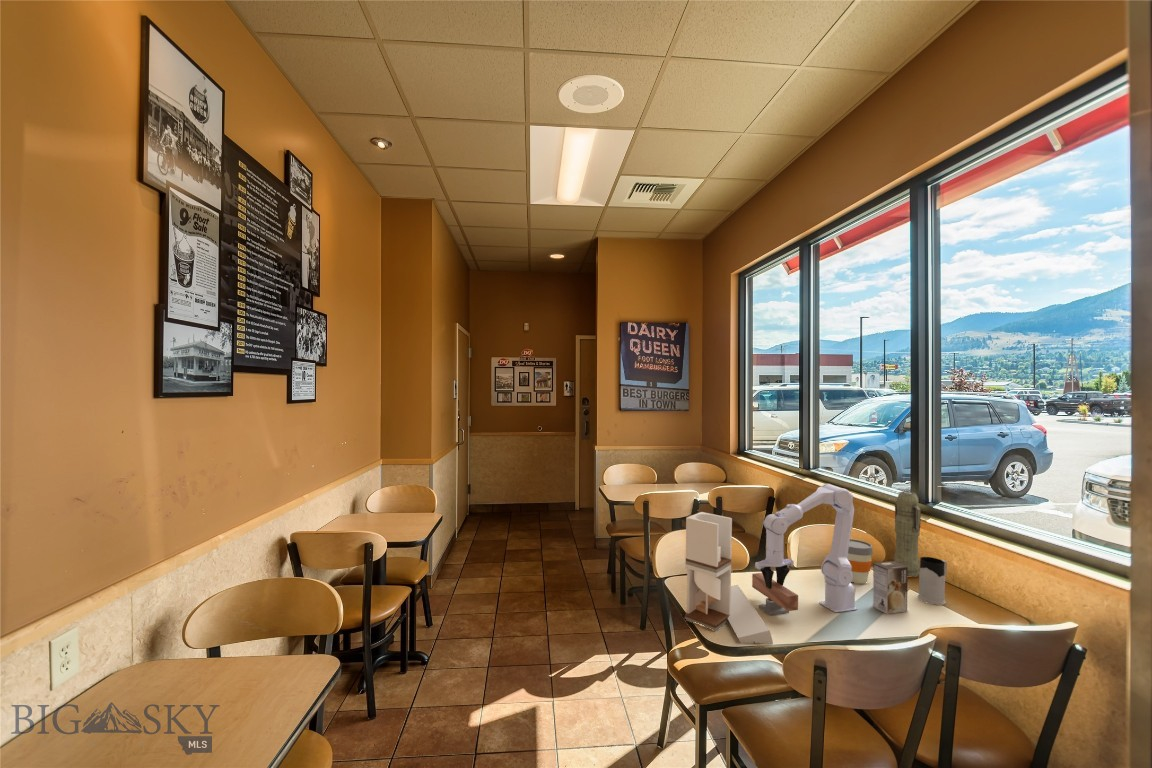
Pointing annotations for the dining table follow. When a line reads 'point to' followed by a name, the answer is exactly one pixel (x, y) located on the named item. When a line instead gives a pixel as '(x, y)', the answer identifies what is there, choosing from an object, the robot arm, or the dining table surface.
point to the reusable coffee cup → (860, 560)
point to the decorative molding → (747, 620)
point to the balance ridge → (772, 608)
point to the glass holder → (932, 580)
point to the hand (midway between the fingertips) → (774, 587)
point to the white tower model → (708, 569)
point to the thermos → (907, 531)
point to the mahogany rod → (776, 592)
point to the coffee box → (890, 587)
